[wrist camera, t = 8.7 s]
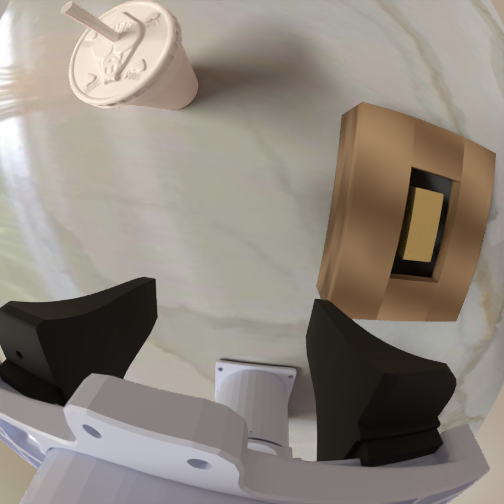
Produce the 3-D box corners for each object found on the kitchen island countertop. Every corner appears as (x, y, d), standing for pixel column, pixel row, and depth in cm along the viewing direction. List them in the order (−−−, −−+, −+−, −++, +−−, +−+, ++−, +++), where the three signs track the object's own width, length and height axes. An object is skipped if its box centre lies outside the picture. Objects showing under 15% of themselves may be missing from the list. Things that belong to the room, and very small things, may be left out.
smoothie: (216, 50, 17) (152, -62, 4) (214, 123, 19) (122, 63, 6) (142, 61, 17) (31, -4, 4) (138, 130, 19) (1, 114, 6)
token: (404, 244, 21) (430, 262, 17) (380, 241, 21) (402, 259, 17) (414, 187, 19) (443, 194, 15) (389, 181, 20) (416, 187, 15)
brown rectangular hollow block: (430, 295, 22) (455, 321, 17) (316, 286, 23) (327, 316, 18) (460, 151, 18) (495, 153, 13) (341, 115, 18) (362, 102, 13)
